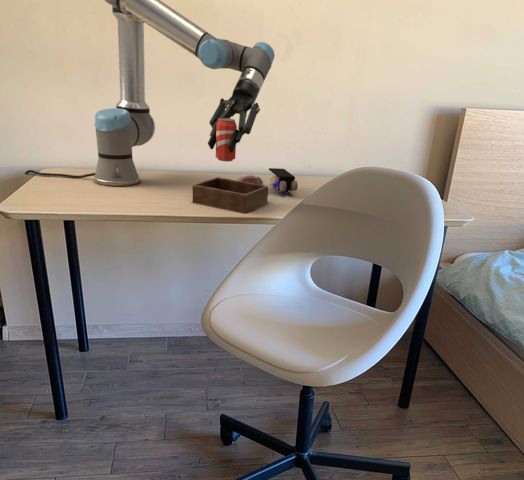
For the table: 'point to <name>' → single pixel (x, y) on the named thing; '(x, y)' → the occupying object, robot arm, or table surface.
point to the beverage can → (225, 139)
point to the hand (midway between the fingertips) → (220, 147)
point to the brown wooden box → (230, 194)
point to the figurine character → (283, 181)
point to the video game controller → (251, 179)
